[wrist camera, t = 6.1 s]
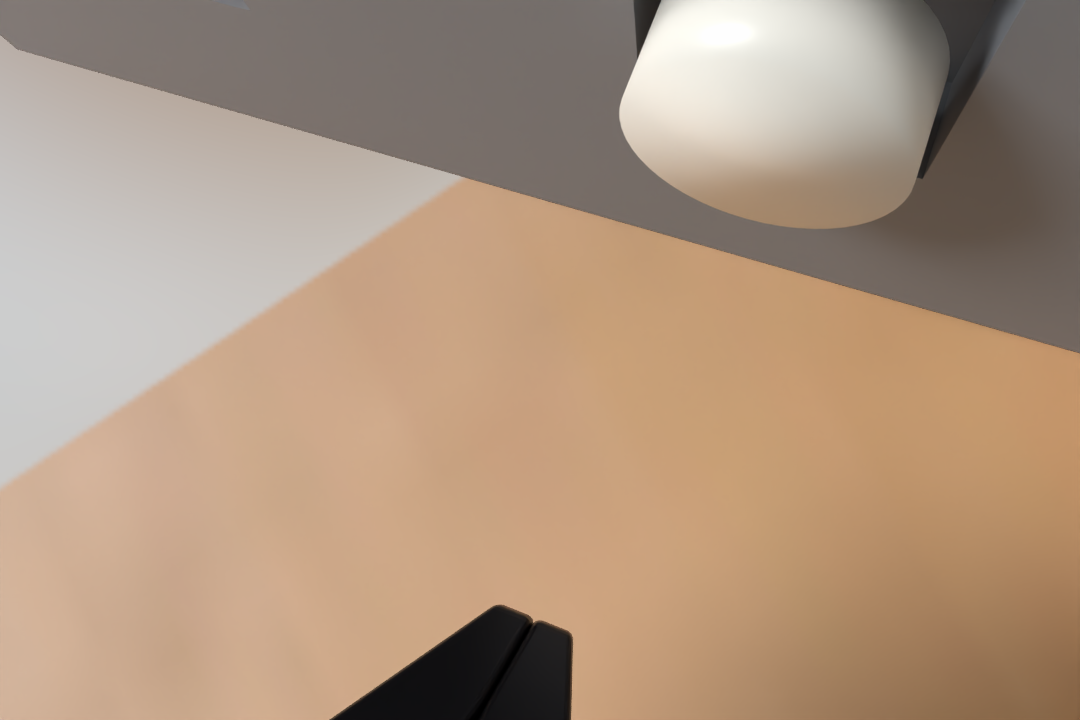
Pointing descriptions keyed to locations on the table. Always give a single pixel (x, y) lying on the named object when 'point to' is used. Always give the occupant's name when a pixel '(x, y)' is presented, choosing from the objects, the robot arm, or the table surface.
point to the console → (598, 140)
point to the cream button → (788, 105)
